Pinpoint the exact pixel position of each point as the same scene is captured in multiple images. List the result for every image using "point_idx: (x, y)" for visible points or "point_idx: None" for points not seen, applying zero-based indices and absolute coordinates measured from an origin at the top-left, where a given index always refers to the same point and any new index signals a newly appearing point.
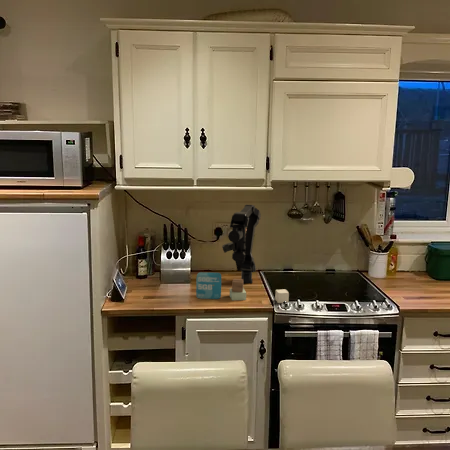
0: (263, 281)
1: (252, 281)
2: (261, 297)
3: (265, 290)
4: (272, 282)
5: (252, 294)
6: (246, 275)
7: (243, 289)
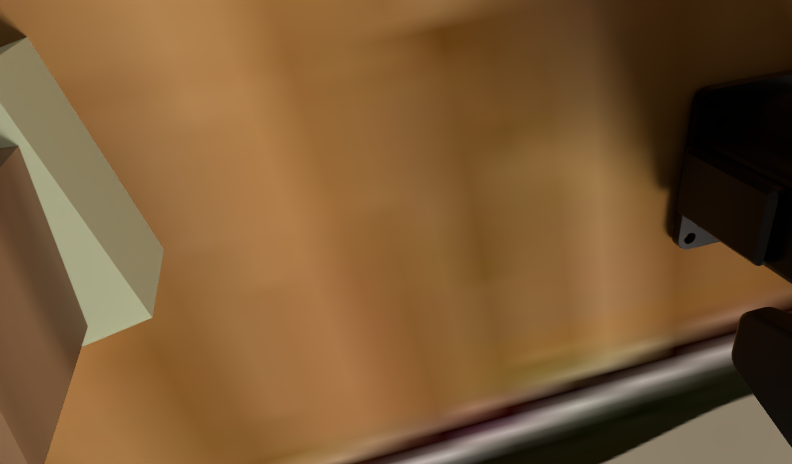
0: None
1: (715, 242)
2: (167, 459)
3: (436, 426)
4: (699, 412)
5: (241, 347)
6: (759, 226)
7: None
